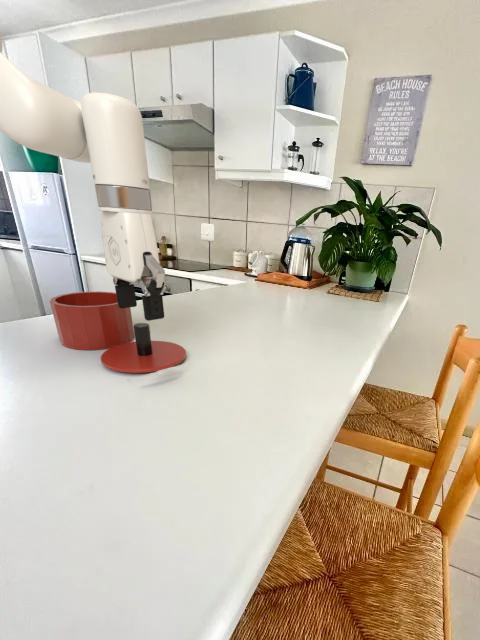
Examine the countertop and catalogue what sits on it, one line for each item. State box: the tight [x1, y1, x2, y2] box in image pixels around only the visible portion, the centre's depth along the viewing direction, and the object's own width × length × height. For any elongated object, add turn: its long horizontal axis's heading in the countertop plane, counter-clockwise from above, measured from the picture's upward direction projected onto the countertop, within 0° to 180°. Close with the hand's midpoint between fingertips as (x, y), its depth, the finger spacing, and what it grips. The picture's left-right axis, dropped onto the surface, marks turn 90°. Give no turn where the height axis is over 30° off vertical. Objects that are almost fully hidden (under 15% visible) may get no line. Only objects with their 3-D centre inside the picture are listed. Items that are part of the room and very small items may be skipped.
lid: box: [100, 322, 187, 374], centre depth 59 cm, size 15×15×7 cm
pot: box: [49, 291, 135, 351], centre depth 67 cm, size 14×14×8 cm
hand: (140, 312), depth 57 cm, fingers open, 9 cm apart
